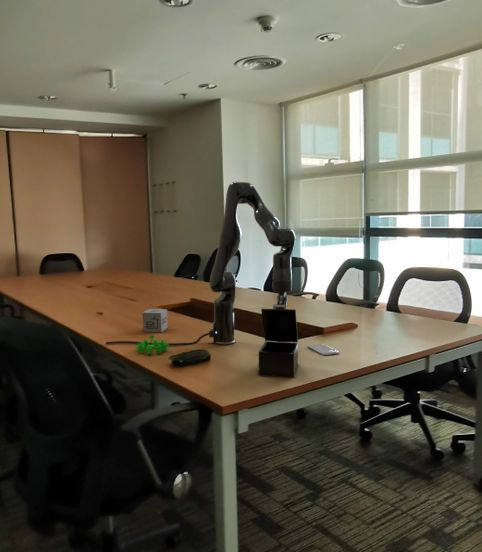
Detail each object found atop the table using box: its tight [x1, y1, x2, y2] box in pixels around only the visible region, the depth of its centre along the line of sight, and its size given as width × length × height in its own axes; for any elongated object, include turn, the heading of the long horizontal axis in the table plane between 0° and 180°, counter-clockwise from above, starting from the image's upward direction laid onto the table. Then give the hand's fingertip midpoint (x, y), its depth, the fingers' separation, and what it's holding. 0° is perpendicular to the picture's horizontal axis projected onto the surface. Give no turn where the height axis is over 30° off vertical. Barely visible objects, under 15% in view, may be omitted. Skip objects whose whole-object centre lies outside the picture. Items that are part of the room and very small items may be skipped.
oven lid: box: [260, 303, 299, 343], centre depth 190 cm, size 17×13×5 cm
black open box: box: [258, 340, 299, 378], centre depth 187 cm, size 16×13×9 cm
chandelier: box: [135, 334, 170, 356], centre depth 217 cm, size 15×15×7 cm
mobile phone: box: [307, 343, 339, 356], centre depth 213 cm, size 8×1×15 cm
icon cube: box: [142, 308, 168, 333], centre depth 258 cm, size 10×10×10 cm
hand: (282, 322), depth 195 cm, fingers closed
